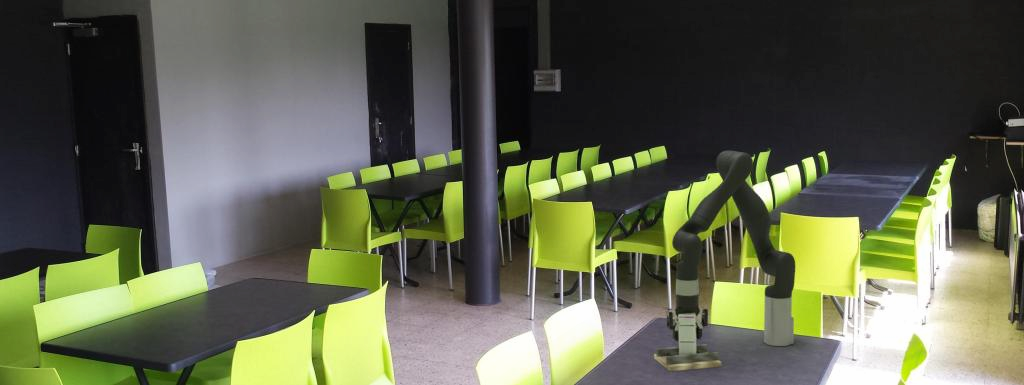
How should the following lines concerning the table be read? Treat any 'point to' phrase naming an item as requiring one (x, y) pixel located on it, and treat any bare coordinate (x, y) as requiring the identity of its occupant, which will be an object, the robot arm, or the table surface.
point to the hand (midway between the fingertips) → (687, 339)
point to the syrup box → (687, 333)
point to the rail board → (686, 358)
